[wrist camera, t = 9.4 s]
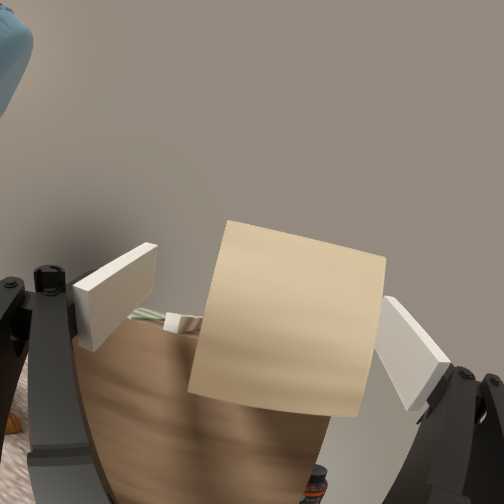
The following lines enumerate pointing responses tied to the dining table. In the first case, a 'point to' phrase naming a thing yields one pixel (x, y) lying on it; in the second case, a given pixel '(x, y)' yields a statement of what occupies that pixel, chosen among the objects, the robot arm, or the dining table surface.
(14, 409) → the dining table surface
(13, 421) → the pastry
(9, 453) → the dining table surface
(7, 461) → the dining table surface
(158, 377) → the brown wavy patterned box
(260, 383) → the beech bar
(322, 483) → the supplement bottle
